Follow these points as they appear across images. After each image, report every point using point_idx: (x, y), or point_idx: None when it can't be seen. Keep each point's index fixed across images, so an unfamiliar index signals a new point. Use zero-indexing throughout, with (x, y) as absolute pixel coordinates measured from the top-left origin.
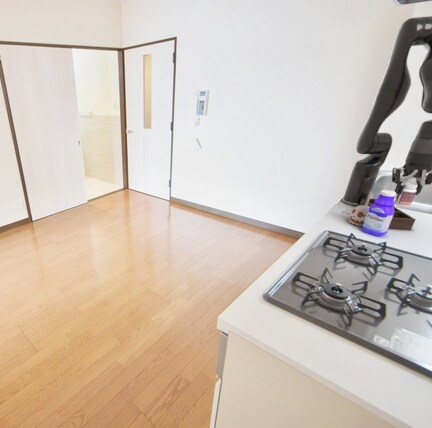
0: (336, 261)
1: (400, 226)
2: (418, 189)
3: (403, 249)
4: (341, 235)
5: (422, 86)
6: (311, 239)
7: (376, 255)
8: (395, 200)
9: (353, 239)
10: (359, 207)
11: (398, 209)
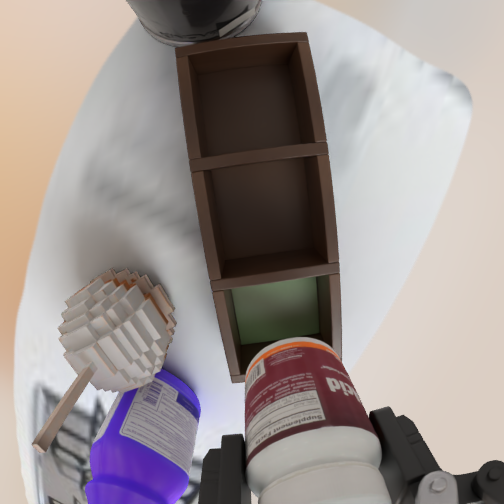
0: (83, 489)
1: None
2: (385, 482)
3: None
4: (75, 412)
5: None
6: (26, 427)
7: None
8: (245, 389)
9: None
10: (70, 360)
11: (333, 232)
